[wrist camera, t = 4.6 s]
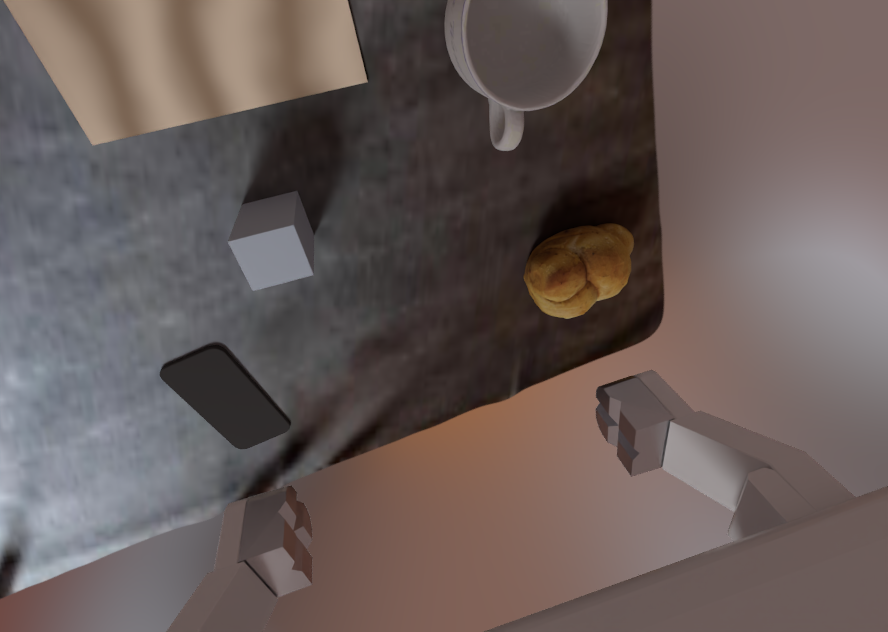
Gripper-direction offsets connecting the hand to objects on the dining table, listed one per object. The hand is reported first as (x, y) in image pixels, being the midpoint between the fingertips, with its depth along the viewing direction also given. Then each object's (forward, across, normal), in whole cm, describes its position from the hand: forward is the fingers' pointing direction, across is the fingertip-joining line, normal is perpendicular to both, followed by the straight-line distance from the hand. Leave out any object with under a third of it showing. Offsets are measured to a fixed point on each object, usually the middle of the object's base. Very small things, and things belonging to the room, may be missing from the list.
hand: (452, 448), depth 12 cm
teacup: (+35, +13, +5) cm, 37 cm away
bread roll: (+35, +20, -18) cm, 44 cm away
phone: (+36, -22, -24) cm, 48 cm away
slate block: (+35, -9, -5) cm, 36 cm away
